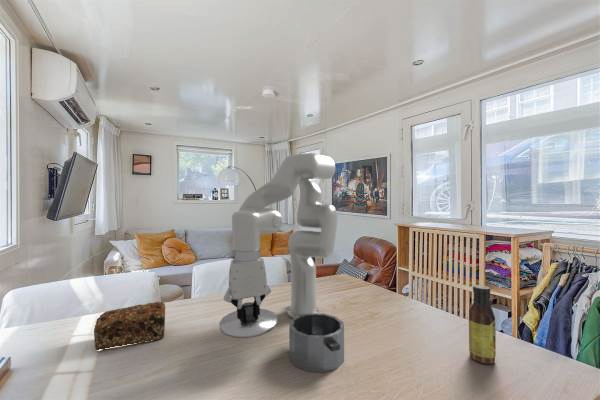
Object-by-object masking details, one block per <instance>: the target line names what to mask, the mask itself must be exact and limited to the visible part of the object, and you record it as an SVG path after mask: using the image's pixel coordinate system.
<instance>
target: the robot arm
mask: <svg viewBox="0 0 600 400" xmlns="http://www.w3.org/2000/svg"><path fill="white" fill-rule="evenodd" d="M335 172H336V164H335V161H334V160H333V158H332V157H331V156H329V155H323V154H319V153H314V152H313V153H312V152H311V153H310V152H309V153H295V154H290V155H287V156H286V157H285V158H284V159H283V161H282V162H281V164H280V166H279V167H278V169H277V170H276V172H275V173H274V175H273V177H272V178H271V180H270V181H269V182H266V183H265V184H263V185H262V186H260V187H259V188H258V189H256V190H254V191H253V192H252V193H250V194H249V195H248V196H247V197H246V198H245V200H244V201H243V203H242V204H241V206H240V208H239V209H238V211H235V212H233V213H232V215H231V227H232V229H231V230H232V231H231V233H232V251H231V252H228V253H227V258H228V259H231V261H230V266H229V272H228V287H227V290H226V292H225V294H224V296H223V301H224V302H227V303H229V304H230V303H231V304H232V305H233V306H234V307H235V308H236V311H237V318H238V319H240V321H241V323H243V322H244V309H243V307H242V304H243V300H244V299H250V298H253V302H252V303H254V308H255V319H256V320H258V315H260V308H261V305H262V302H263V301H264V299H266V297H267V296H268V295H270V294H271V293H272V289H271V288H270V286H269V285H268V279H267V272H266V271H267V270H266V264H265V261H264V258H262V257H261V235H271V234H274V233H277V232H278V231H279V230H280V228H281V227H282V225H283V217H282V214H281V213H280V212H279V211H278V210H277V209H274V208H269V207H268V206H270V205H274V204H276V203H279V202H282V201H284V200H286V199H288V198H290V197H292V195H293V194H294V192H295V191H296V188H297V186H298V187H299V201H298V206H297V214H296V223H297V224H298V226H300V227H302V228H308V229H309V228H310V229H319V230H320V231H313V230H296V231H294V232H292V233H291V234H290V235H289V237H288V243H287V244H288V249H289V255H290V272H291V273H290V306H289V307H288V308H287V309H286V314H287V316H288V317H289V318H291V319H294V318H295V317H297V316H298V315H303V314H309V313H321V309H320V308H319V307H318V306H317V266H316V264H315V261H314V260H313V258H318V259H319V258H320V259H328V258H330V257H331V256H332V255H333V253H334V249H335V243H336V236H337V235H336V234H337V229H338V212H337V209H336V207H335V206H334V205H333V204H329V203H321V202H322V191H321V188H320V186H319V185H318V184H317V182H316V181H315V180H329V179H332V178H333V176H335ZM266 207H268V208H266Z"/></svg>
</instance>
